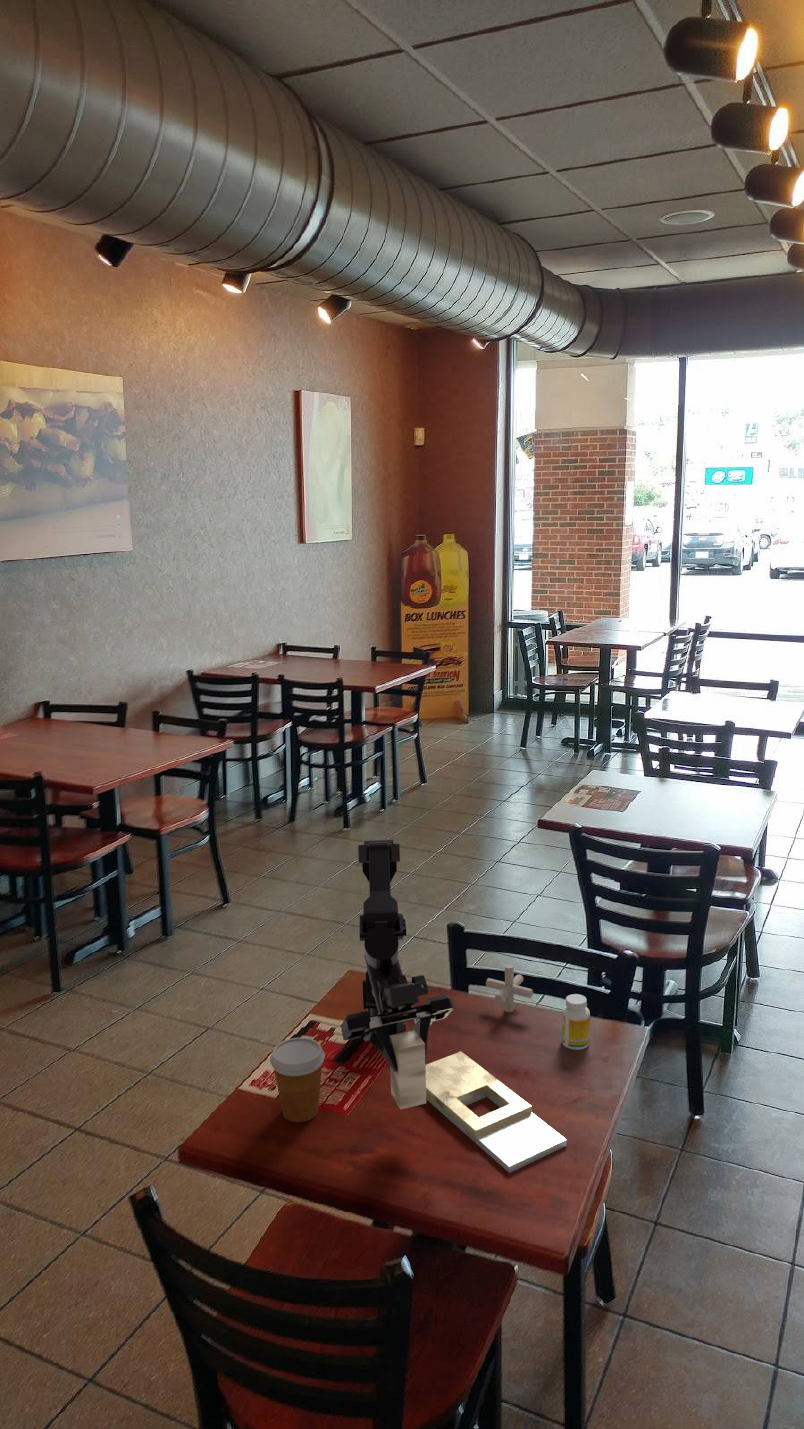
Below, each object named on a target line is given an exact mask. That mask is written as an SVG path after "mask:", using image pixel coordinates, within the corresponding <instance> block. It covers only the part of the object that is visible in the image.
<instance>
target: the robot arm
mask: <svg viewBox="0 0 804 1429" xmlns="http://www.w3.org/2000/svg"><path fill="white" fill-rule="evenodd" d="M400 845H401V844H400V843H394V839H393V838H391V839H371V840H370V839H369V840H368V839H367V840H366V839H365V840H364V841H363V844H358V845H357V851H358V853H357V854H358V856H357V857H358V859H357V860H358V864H360V865H362V866H361V867H362V870H361V871H362V873H363V875H364V877H365V878H366V880H367V881H368V883H369V886H368V887H369V888H368V889H369V895H368V897H367V898H366V899H365V900H364V902H363V906H362V907H363V908H362V909H363V911H362V914H360V915H359V942H364V953H365V954H364V956H363V958H364V961H365V965H366V970H365V979H362V1005H363V1010H365V1011H361V1012H355V1013H350V1014H347V1016H346V1017H345V1019H344V1021H343V1022H342V1024H341V1026H340V1028H341V1029H340V1030H341V1035H342V1039H343V1041H350V1040H353V1039H358V1038H361V1037H362V1036H363V1034H364V1037H363V1040H364V1042H371V1044H372V1045H373V1046H374V1047H375V1048H376V1049H377V1050H378V1052H380V1054H381V1055H382V1056H383V1058H384V1059H385V1061H386V1062H387V1063H388V1065H389V1067H390V1066H391V1067H392V1069H393V1070H394V1071H395V1072H397V1071H398V1067H397V1062H396V1058H395V1055H394V1052H393V1049H392V1046H391V1044H390V1041H389V1036H390V1035H395V1034H400V1033H403V1031H405V1030H406V1029H407V1024H405V1023H404V1022H405V1021H411V1020H413V1021H414V1025H413V1027H412V1028H411V1029H412V1031H413V1030H415V1031H416V1032H417V1034H418V1035H419V1036H420V1038H421V1039H422V1040H423V1042H424V1043H425V1065H427V1050H428V1035H429V1028H430V1026H431V1025H432V1024H433V1023H434V1022H436V1021H437V1022H438V1021H441V1020H444V1019H446V1018H447V1017H448V1016H449V1015H450V1014H451V1012H453V1011H454V1008H455V1007H454V1005H453V1001H452V999H451V998H450V996H448V995H447V994H441V995H436V996H431V997H427V999H426V1000H425V1001H424V1002H423V1004H421V1005H418V1006H414V1005H415V1004H419V1003H421V1002H420V1001H421V1000H420V996H421V997H422V996H424V995H425V996H426V995H428V994H429V988H428V983H427V980H426V977H425V974H419V975H414V976H412V977H411V982H408V980H407V976H406V974H403V970H402V966H401V964H400V960H399V954H400V951H399V949H400V948H399V947H400V946H399V945H400V944H399V943H400V942H399V941H400V940H404V937H405V936H407V923H406V921H407V920H406V919H405V918H404V914H403V913H402V912H401V913H399V908H398V903H399V902H398V900H396V899H395V897H394V896H392V892H391V889H392V888H391V882H392V881H393V879H394V878H395V875H396V873H397V870H398V864H397V863H401V846H400ZM412 1006H414V1007H412ZM366 1010H367V1011H366Z"/></svg>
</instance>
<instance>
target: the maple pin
mask: <svg viewBox="0 0 804 1429" xmlns="http://www.w3.org/2000/svg"><path fill="white" fill-rule="evenodd" d="M389 1041H390V1044H391V1046H392V1049H393V1052H394V1055H395V1058H396V1062H397V1067H398V1071H397V1072H395V1071H394V1070H393V1069H392V1067H391V1066H390V1065H389V1067H390V1071H389V1073H390V1094H391V1097H392V1098H393V1099H394V1101H395V1103H396V1105H397V1107H398V1108H399V1110H404V1109H409V1108H413V1107H416V1106H420V1105H421V1106H422V1105H424V1104H427V1100H426V1069H425V1065H426V1064H425V1043H424V1042H423V1040H422V1039H421V1038H420V1036H419V1035H418V1034H417V1032H416V1031H415V1030H413V1029H412V1030H410V1031H405V1032H401V1033H400V1034H395V1035H390V1036H389Z"/></svg>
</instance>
